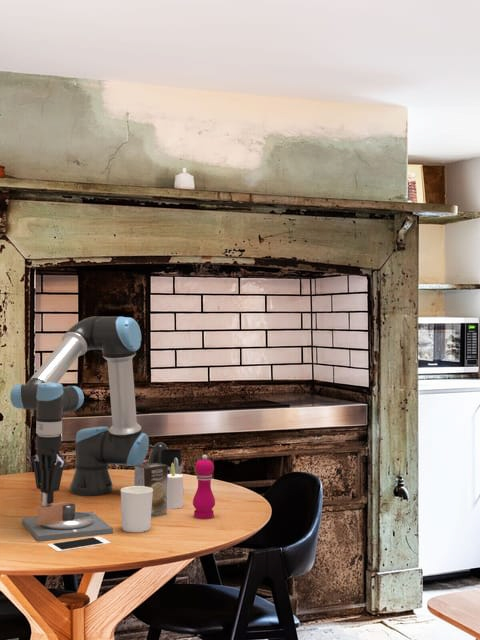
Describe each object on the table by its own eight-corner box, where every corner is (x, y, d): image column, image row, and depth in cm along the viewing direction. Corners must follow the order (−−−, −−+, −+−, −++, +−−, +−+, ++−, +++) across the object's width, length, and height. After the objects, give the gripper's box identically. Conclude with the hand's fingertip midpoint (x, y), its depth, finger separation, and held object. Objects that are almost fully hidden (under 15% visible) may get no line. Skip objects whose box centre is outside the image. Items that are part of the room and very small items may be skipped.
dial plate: (91, 516, 261) (91, 511, 261) (112, 533, 241) (112, 527, 241) (22, 522, 251) (22, 517, 251) (38, 541, 232) (38, 535, 232)
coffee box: (145, 518, 259) (145, 468, 259) (132, 514, 264) (133, 465, 264) (167, 514, 266) (168, 464, 265) (155, 510, 270) (156, 462, 270)
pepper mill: (218, 514, 266) (219, 453, 265) (210, 520, 259) (211, 457, 258) (197, 512, 268) (198, 452, 268) (189, 517, 261) (190, 455, 261)
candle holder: (138, 535, 240) (139, 494, 240) (113, 529, 245) (113, 490, 245) (159, 528, 248) (159, 488, 248) (134, 523, 254) (134, 484, 253)
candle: (187, 506, 276) (187, 462, 276) (172, 509, 271) (173, 464, 271) (174, 503, 280) (175, 459, 280) (160, 506, 276) (161, 462, 275)
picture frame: (179, 488, 304) (179, 448, 304) (188, 497, 291) (189, 455, 290) (156, 489, 301) (156, 449, 301) (164, 498, 288) (165, 455, 288)
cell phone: (111, 544, 231) (111, 542, 231) (57, 553, 222) (57, 551, 222) (99, 538, 238) (99, 536, 238) (46, 546, 228) (46, 544, 228)
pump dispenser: (149, 478, 322) (150, 439, 322) (175, 479, 320) (176, 440, 320) (143, 483, 312) (143, 443, 312) (169, 484, 310) (170, 445, 310)
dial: (71, 513, 258) (71, 493, 258) (104, 522, 247) (104, 501, 247) (22, 523, 244) (23, 503, 244) (55, 533, 234) (56, 512, 234)
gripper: (24, 433, 243) (22, 512, 244) (53, 438, 236) (52, 520, 236) (44, 431, 249) (42, 507, 250) (73, 436, 242) (71, 515, 242)
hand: (47, 513), depth 243 cm, fingers closed
